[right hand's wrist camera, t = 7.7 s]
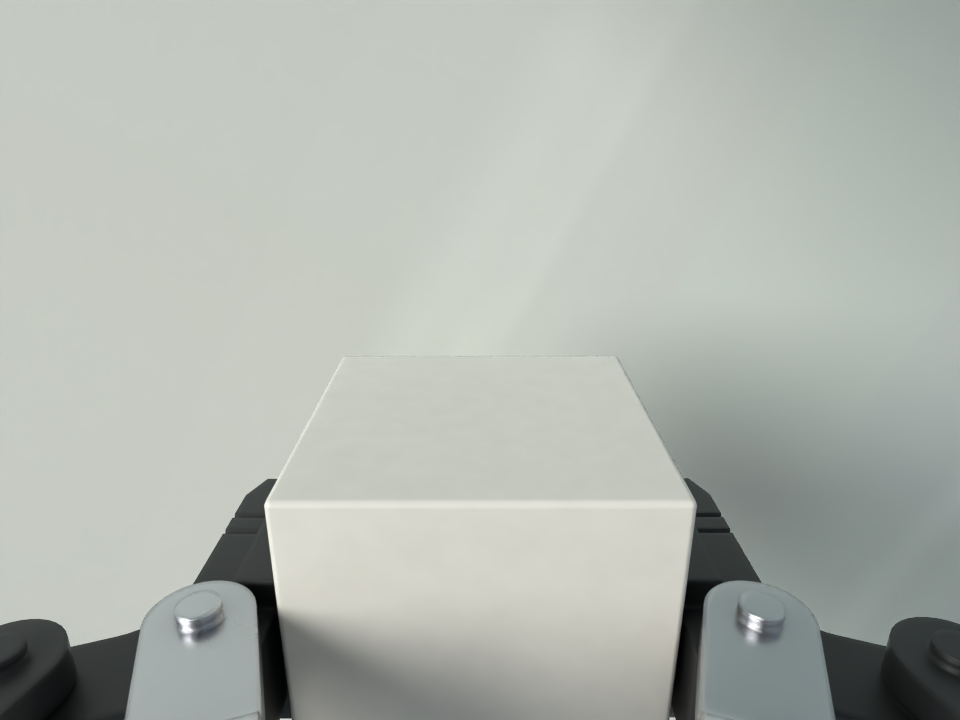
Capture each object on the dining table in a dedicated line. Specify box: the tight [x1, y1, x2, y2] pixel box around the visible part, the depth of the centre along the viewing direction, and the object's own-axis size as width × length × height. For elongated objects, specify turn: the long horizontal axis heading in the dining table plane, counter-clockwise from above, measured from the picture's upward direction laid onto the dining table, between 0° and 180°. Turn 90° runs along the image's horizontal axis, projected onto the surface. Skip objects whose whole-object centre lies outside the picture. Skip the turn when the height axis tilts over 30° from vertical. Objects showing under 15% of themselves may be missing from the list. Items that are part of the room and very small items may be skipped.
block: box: [264, 356, 697, 720], centre depth 10 cm, size 5×5×5 cm
